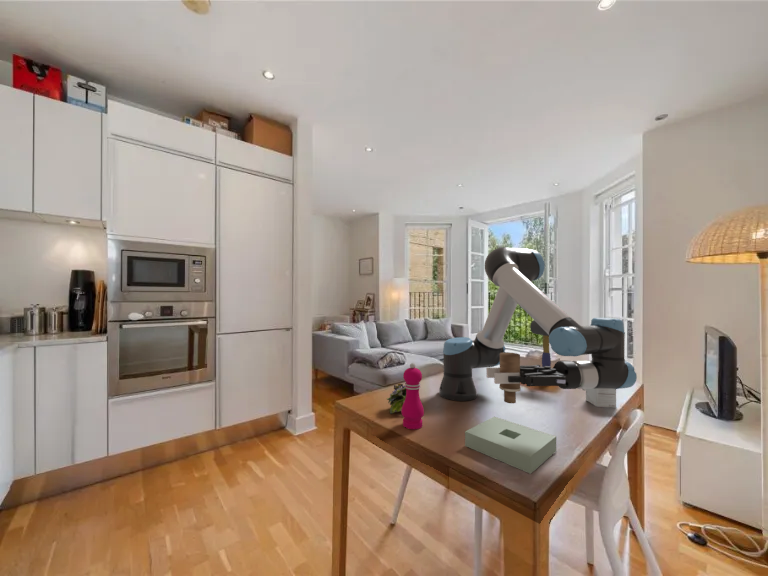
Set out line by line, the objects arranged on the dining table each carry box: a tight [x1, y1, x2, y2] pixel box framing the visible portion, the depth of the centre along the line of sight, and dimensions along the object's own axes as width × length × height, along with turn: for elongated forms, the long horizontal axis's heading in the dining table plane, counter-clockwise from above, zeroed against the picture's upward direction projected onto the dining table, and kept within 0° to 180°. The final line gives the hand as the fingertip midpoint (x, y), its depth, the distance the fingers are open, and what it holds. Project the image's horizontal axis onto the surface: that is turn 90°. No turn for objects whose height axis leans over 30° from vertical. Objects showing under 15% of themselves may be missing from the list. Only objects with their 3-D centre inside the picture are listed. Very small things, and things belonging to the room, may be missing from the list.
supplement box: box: [585, 389, 617, 408], centre depth 121 cm, size 7×7×13 cm
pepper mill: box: [400, 362, 425, 430], centre depth 101 cm, size 7×7×20 cm
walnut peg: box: [498, 351, 522, 404], centre depth 87 cm, size 5×5×13 cm
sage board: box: [464, 416, 557, 475], centre depth 86 cm, size 18×16×4 cm
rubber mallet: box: [529, 319, 552, 367], centre depth 148 cm, size 12×8×30 cm, turn 33°
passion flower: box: [386, 383, 406, 415], centre depth 114 cm, size 11×11×12 cm
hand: (490, 375), depth 86 cm, fingers closed on walnut peg, 5 cm apart
